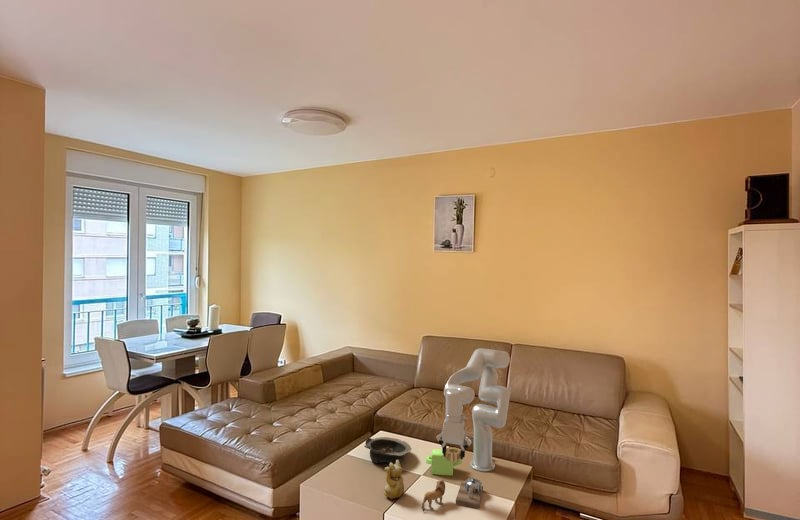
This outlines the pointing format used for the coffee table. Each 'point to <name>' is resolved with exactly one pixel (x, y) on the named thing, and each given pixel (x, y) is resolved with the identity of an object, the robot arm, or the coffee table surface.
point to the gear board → (468, 497)
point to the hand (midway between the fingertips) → (453, 456)
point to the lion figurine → (435, 494)
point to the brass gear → (453, 454)
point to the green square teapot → (440, 463)
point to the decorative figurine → (394, 481)
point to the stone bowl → (387, 449)
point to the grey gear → (473, 485)
